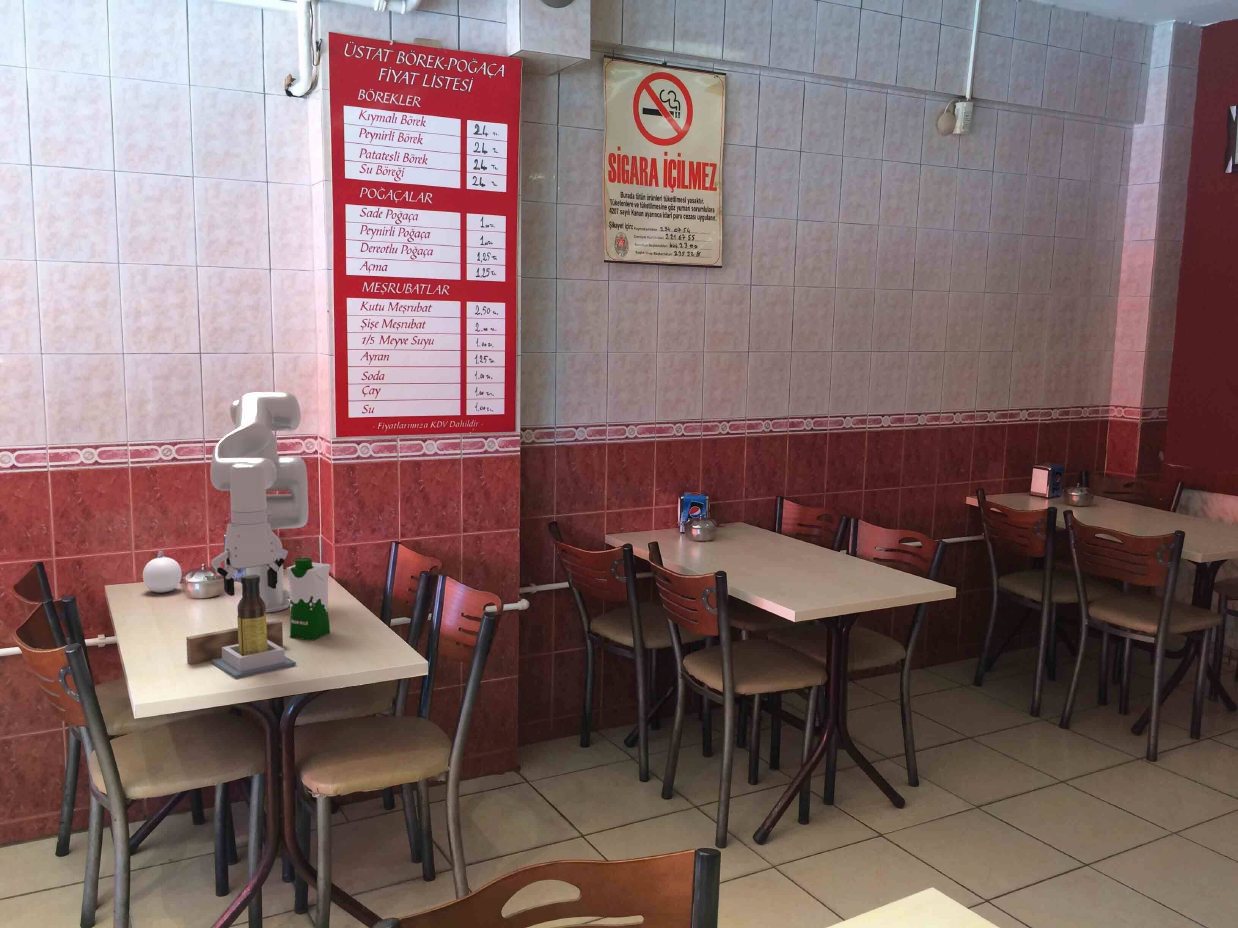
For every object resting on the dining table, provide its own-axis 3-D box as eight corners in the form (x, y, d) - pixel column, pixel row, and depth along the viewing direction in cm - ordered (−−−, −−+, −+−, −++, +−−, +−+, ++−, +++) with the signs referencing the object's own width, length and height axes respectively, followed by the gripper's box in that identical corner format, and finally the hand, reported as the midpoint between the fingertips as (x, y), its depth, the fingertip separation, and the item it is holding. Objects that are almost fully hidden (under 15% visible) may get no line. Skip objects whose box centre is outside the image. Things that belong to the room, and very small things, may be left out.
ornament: (151, 587, 297) (149, 548, 295) (186, 587, 298) (185, 547, 296) (138, 596, 286) (136, 555, 285) (175, 596, 288) (173, 555, 286)
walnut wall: (279, 643, 245) (278, 619, 244) (283, 645, 243) (282, 621, 243) (187, 662, 230) (186, 636, 229) (190, 664, 229) (189, 638, 228)
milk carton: (284, 638, 250) (282, 559, 247) (307, 628, 258) (305, 552, 256) (314, 642, 247) (312, 562, 244) (335, 632, 255) (334, 555, 253)
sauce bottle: (273, 659, 231) (272, 575, 228) (252, 666, 225) (250, 580, 223) (254, 654, 234) (252, 571, 231) (232, 661, 228) (230, 576, 226)
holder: (270, 650, 239) (270, 635, 239) (295, 665, 229) (295, 649, 229) (211, 662, 230) (210, 646, 229) (235, 678, 220) (234, 662, 219)
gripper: (279, 510, 234) (281, 581, 236) (203, 519, 222) (206, 593, 225) (292, 515, 228) (294, 588, 231) (216, 524, 217) (219, 601, 219)
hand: (251, 590), depth 228 cm, fingers open, 9 cm apart
